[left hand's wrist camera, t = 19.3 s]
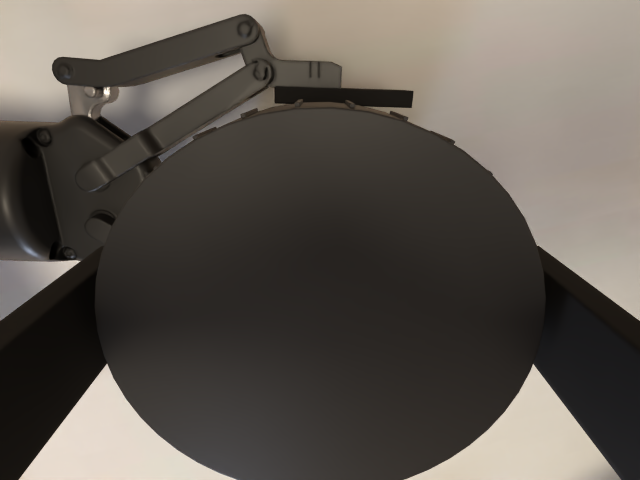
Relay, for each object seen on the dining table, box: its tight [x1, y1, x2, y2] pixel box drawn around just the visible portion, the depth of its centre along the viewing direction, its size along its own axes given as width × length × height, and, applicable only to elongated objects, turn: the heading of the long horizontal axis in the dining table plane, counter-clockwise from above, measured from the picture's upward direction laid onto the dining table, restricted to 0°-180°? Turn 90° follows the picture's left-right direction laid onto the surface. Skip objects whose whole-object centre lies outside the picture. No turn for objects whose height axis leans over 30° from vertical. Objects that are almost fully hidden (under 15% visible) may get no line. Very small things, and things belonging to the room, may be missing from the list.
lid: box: [95, 99, 546, 480], centre depth 11 cm, size 11×11×2 cm
